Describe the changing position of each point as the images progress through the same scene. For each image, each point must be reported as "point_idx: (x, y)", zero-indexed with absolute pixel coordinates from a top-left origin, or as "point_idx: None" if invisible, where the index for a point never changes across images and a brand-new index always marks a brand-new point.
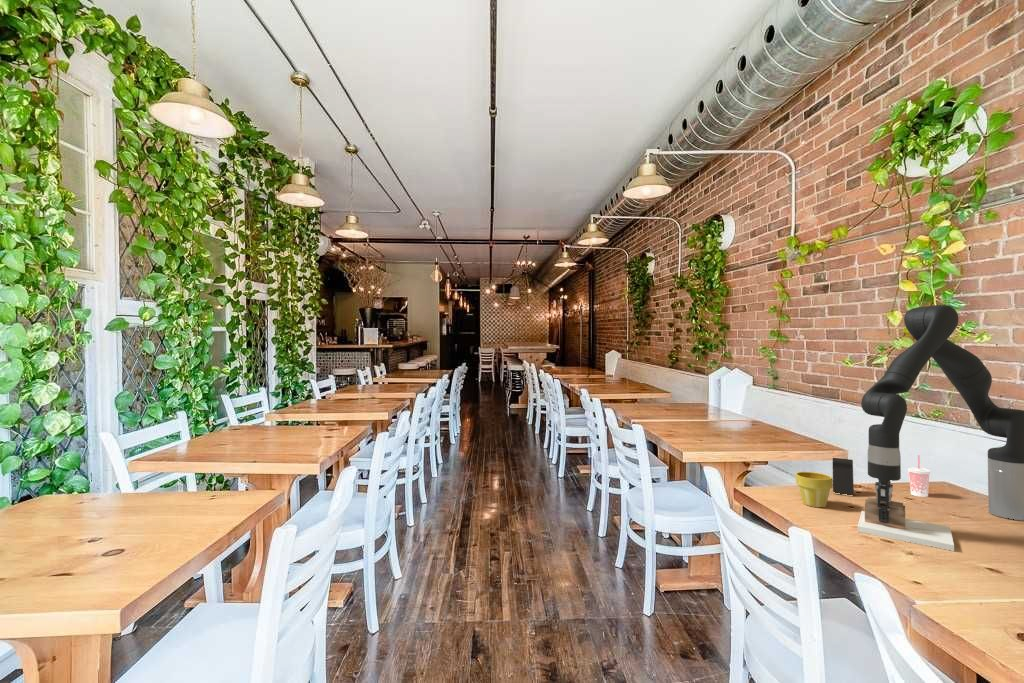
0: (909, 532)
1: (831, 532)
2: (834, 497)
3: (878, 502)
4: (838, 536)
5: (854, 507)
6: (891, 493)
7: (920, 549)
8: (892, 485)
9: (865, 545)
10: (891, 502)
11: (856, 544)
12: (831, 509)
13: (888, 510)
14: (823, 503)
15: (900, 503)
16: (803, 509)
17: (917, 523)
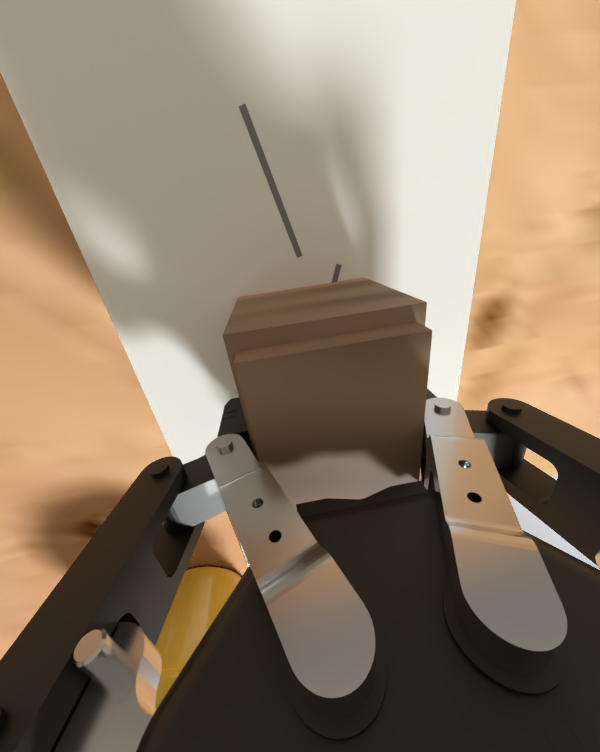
0: (405, 248)
1: None
2: (17, 593)
3: (553, 486)
4: (526, 448)
5: (85, 519)
6: (294, 511)
7: (542, 172)
8: (371, 665)
9: (585, 368)
10: (312, 433)
11: (586, 391)
12: (213, 548)
13: (440, 400)
14: (220, 585)
15: (283, 374)
16: None
17: (151, 236)
